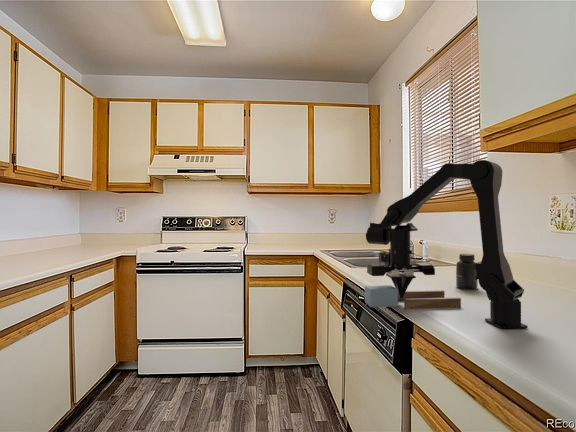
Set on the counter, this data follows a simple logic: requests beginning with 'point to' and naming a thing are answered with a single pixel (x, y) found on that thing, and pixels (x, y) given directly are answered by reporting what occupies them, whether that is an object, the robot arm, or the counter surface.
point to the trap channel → (429, 299)
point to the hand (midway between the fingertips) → (400, 298)
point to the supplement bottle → (466, 272)
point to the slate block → (381, 296)
